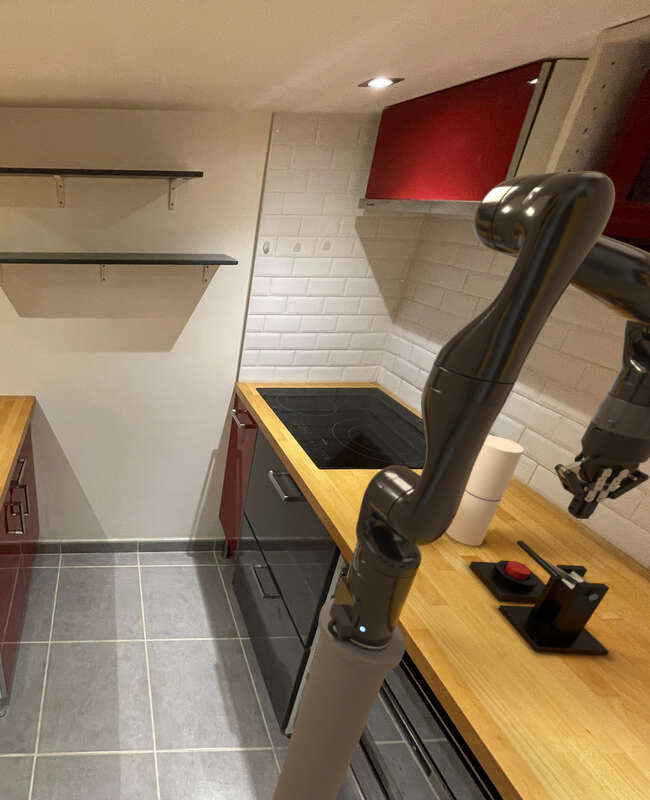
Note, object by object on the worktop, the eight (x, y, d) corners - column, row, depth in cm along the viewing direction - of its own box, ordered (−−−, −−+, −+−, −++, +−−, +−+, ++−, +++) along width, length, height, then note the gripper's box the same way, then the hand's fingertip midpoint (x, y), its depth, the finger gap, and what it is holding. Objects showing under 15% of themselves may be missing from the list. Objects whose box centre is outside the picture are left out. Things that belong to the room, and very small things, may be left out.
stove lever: (548, 580, 72) (561, 571, 72) (511, 545, 80) (523, 536, 79) (598, 610, 74) (611, 601, 74) (557, 573, 82) (569, 565, 81)
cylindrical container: (438, 528, 108) (473, 438, 98) (459, 522, 110) (496, 434, 100) (467, 548, 102) (508, 454, 91) (489, 541, 104) (532, 449, 94)
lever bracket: (534, 651, 79) (568, 595, 73) (498, 609, 87) (526, 555, 81) (605, 656, 78) (645, 599, 72) (562, 612, 86) (594, 558, 80)
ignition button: (513, 580, 89) (516, 573, 89) (500, 566, 93) (503, 560, 92) (532, 581, 89) (535, 574, 89) (518, 567, 93) (521, 561, 92)
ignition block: (498, 601, 88) (505, 588, 87) (468, 567, 97) (474, 554, 95) (556, 604, 88) (563, 591, 87) (521, 569, 96) (527, 557, 95)
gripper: (647, 416, 72) (597, 503, 79) (560, 413, 72) (519, 500, 79) (699, 439, 65) (640, 532, 72) (603, 436, 65) (554, 528, 73)
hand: (577, 515), depth 76 cm, fingers closed
